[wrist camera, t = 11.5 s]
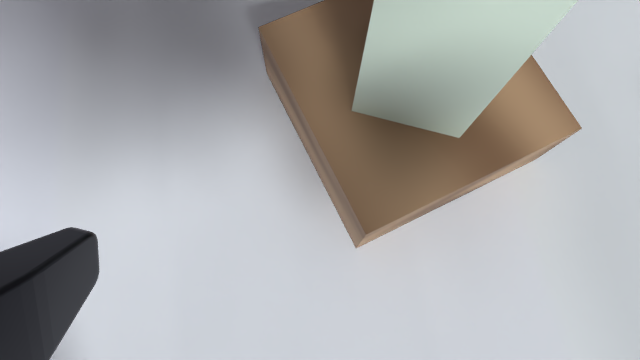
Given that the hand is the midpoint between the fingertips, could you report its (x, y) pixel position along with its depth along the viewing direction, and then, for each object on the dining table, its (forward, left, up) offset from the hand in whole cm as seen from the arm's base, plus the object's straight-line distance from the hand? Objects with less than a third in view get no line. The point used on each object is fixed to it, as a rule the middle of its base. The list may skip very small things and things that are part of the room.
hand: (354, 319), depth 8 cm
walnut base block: (+8, +7, -13) cm, 17 cm away
